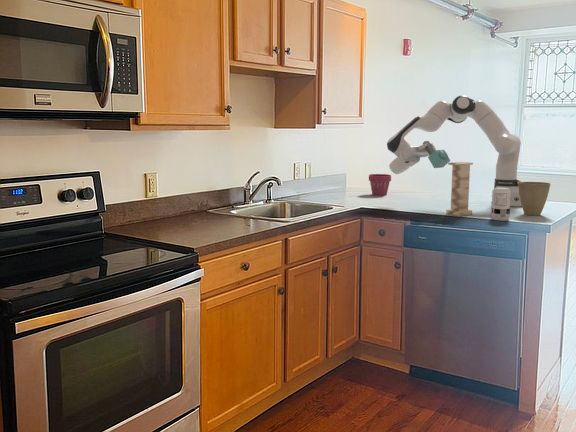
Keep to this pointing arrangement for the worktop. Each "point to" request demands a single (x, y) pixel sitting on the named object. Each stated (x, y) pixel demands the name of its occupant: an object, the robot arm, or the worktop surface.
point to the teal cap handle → (436, 156)
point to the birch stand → (460, 189)
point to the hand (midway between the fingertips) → (429, 144)
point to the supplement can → (501, 203)
